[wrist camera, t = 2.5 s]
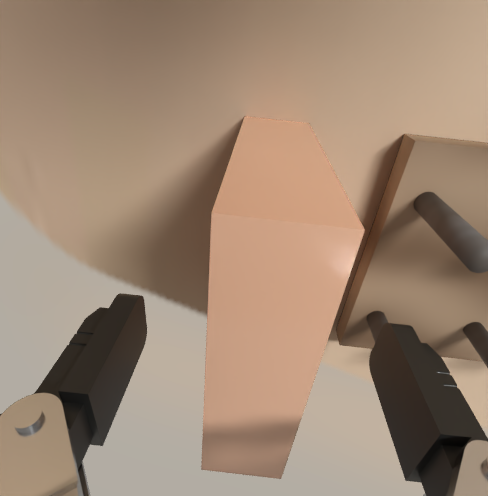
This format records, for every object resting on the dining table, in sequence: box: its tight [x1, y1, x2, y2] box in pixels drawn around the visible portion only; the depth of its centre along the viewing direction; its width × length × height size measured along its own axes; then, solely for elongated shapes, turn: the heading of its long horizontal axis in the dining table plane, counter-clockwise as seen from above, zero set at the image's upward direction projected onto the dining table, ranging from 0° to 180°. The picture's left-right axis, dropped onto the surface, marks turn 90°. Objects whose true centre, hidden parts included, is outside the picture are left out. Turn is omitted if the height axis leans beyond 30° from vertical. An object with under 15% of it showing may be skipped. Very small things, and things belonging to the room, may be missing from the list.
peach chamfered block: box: [201, 116, 365, 479], centre depth 12 cm, size 10×3×10 cm, turn 175°
